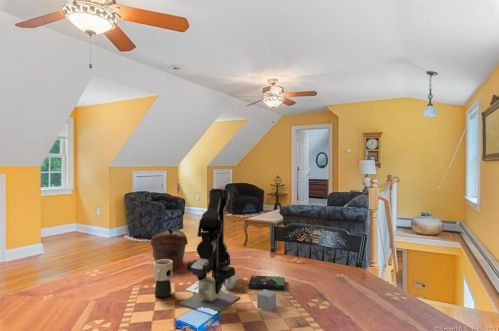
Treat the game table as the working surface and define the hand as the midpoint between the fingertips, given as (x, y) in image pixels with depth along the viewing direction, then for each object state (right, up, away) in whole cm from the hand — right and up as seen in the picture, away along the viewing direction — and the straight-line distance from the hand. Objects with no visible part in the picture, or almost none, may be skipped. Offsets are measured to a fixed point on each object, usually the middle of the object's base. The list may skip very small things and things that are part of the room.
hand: (210, 292), depth 116 cm
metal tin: (+7, -4, +12) cm, 14 cm away
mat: (0, -4, 0) cm, 4 cm away
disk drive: (+22, -4, +16) cm, 28 cm away
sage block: (0, -2, 0) cm, 2 cm away
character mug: (-19, -4, +5) cm, 20 cm away
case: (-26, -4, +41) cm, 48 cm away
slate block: (+21, -4, -4) cm, 21 cm away
